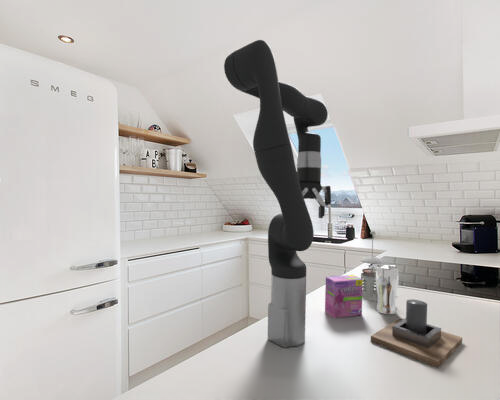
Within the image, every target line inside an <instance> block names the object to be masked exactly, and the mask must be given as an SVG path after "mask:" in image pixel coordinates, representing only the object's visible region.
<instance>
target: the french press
mask: <svg viewBox="0 0 500 400" xmlns="http://www.w3.org/2000/svg"><path fill="white" fill-rule="evenodd" d="M369 234H370V235H371V236H372V238H371V239H372V242H371V243H372V244H371V255H370V256H363V258H361V259H360V261H361V262H362V263H365V264H370V265H380V264H384V260H382V259H381V258H380V257H377V256H374V254H373V253H374V251H373V250H374V235H376V231H373V230H371V231H370V232H369ZM361 271H362V273H360V278H361V279H363V285H362V299H364V300H368V301H376V302H378V296H377V289H376V268H375V267H374V266H372V267H371V268H363V269H361Z"/></svg>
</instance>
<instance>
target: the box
mask: <svg viewBox="0 0 500 400" xmlns="http://www.w3.org/2000/svg"><path fill="white" fill-rule="evenodd" d="M363 280H364V279H363V278H362V279H361V277H359V276H357V275H354V274H347V275H334V276H333V275H331V276H325V294H324V295H325V296H324V312H325V313H326V314H327V313H328V316H330V317H331V316H332V318H333V319H337V317H338V318H346V317H353V316H355V317H356V316H362V315H363V313H362V312H363V298H362V290H363V288H362V286H363V283H364V282H363Z"/></svg>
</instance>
